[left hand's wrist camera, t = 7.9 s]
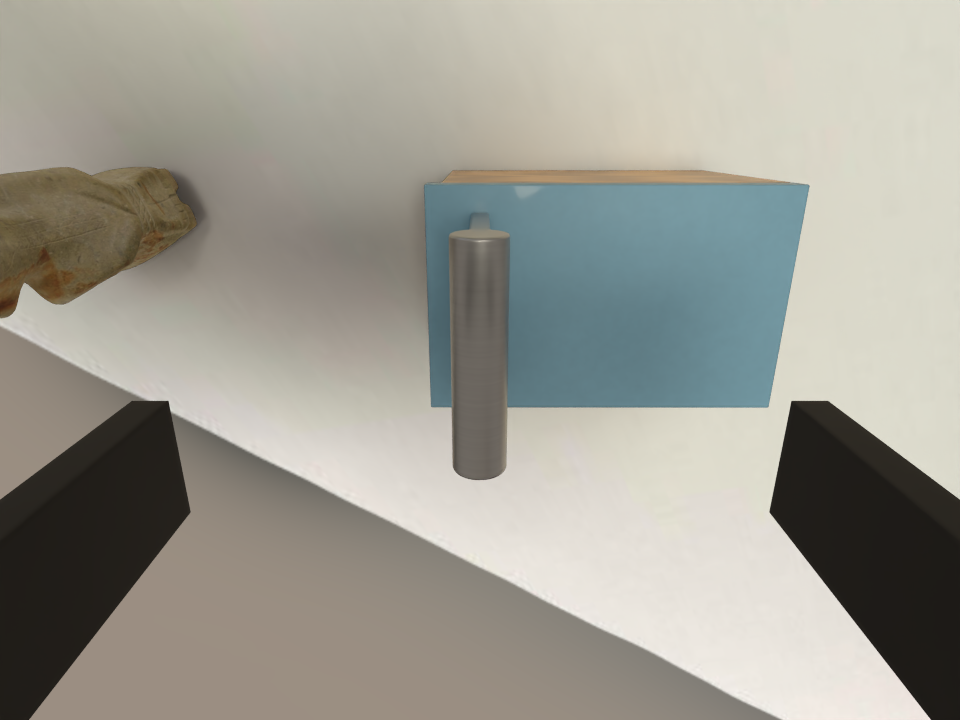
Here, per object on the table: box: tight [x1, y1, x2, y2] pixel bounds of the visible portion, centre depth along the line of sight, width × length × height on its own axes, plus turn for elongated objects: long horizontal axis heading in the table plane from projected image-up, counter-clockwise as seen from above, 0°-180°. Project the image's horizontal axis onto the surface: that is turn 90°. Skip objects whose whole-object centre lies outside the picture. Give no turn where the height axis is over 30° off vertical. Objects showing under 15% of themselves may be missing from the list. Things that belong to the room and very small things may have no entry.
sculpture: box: [0, 167, 197, 318], centre depth 28 cm, size 6×7×15 cm
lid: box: [424, 183, 809, 480], centre depth 22 cm, size 15×10×9 cm, turn 90°
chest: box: [442, 170, 790, 183], centre depth 31 cm, size 14×10×10 cm, turn 90°
